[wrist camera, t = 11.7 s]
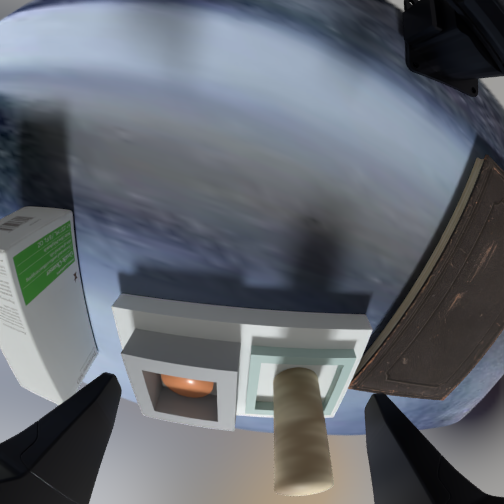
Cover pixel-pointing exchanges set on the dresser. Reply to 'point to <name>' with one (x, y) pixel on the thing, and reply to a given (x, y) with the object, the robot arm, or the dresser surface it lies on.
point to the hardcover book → (447, 302)
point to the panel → (231, 356)
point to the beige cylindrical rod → (300, 435)
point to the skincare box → (43, 303)
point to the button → (187, 386)
